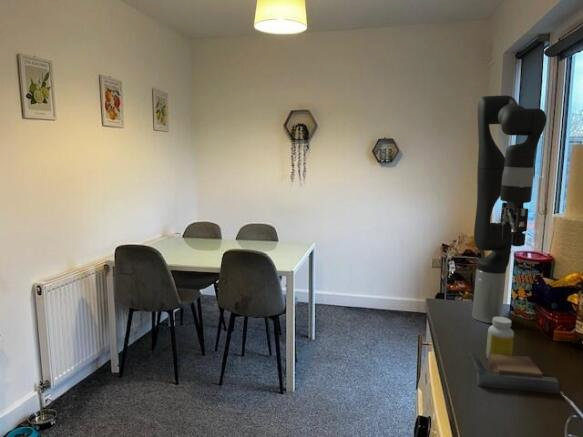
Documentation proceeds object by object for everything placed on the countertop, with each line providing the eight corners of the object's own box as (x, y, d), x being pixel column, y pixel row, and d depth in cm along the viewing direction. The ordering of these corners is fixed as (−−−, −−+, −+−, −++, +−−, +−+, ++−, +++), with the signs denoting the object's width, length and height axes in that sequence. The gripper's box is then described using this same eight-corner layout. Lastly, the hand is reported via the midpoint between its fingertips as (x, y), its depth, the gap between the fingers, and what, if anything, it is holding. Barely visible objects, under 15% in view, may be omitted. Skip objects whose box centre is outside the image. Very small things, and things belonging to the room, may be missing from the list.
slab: (487, 367, 118) (488, 353, 117) (527, 371, 116) (529, 356, 116) (497, 385, 109) (499, 370, 109) (540, 389, 108) (542, 374, 107)
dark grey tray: (463, 355, 124) (464, 345, 123) (532, 362, 121) (533, 351, 120) (478, 385, 108) (479, 374, 107) (557, 393, 105) (558, 382, 105)
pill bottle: (514, 366, 118) (518, 325, 116) (488, 363, 119) (492, 323, 117) (507, 355, 124) (511, 316, 122) (483, 352, 126) (486, 314, 124)
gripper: (494, 181, 127) (489, 236, 129) (510, 185, 113) (504, 247, 115) (522, 182, 125) (516, 238, 128) (542, 186, 111) (535, 249, 114)
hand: (511, 242), depth 122 cm, fingers open, 8 cm apart
